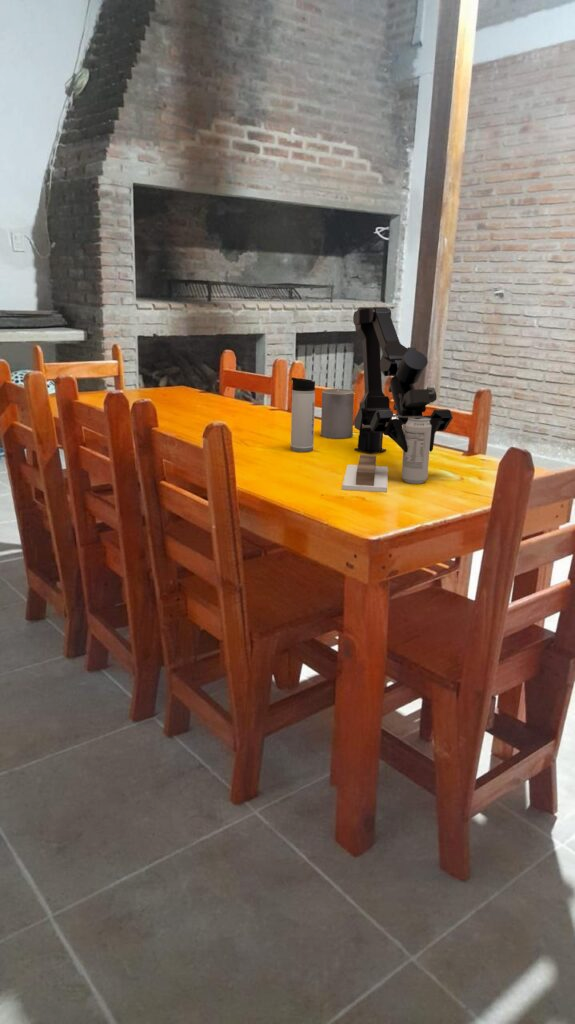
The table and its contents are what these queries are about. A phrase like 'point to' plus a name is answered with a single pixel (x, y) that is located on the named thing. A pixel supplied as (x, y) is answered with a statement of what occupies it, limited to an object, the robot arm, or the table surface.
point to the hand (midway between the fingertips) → (419, 451)
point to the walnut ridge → (366, 470)
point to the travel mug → (302, 415)
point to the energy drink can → (416, 450)
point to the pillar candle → (337, 413)
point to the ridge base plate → (379, 485)
